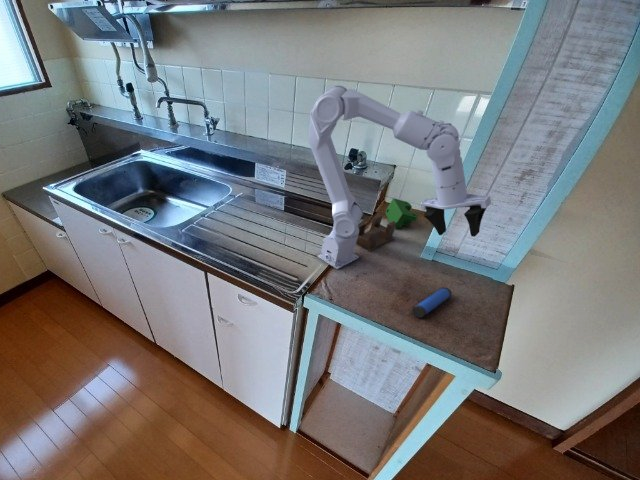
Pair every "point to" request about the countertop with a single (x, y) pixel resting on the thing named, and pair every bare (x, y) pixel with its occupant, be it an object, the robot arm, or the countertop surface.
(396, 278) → the countertop surface
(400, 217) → the clamp
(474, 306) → the countertop surface
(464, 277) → the countertop surface
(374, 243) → the holder
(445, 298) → the handle
